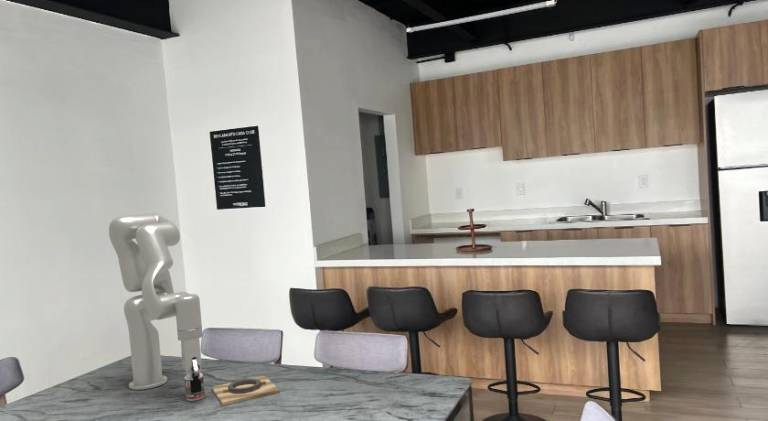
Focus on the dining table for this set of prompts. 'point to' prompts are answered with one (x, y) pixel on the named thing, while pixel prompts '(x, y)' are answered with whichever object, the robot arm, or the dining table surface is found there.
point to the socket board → (244, 390)
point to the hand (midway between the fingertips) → (194, 388)
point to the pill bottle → (190, 395)
